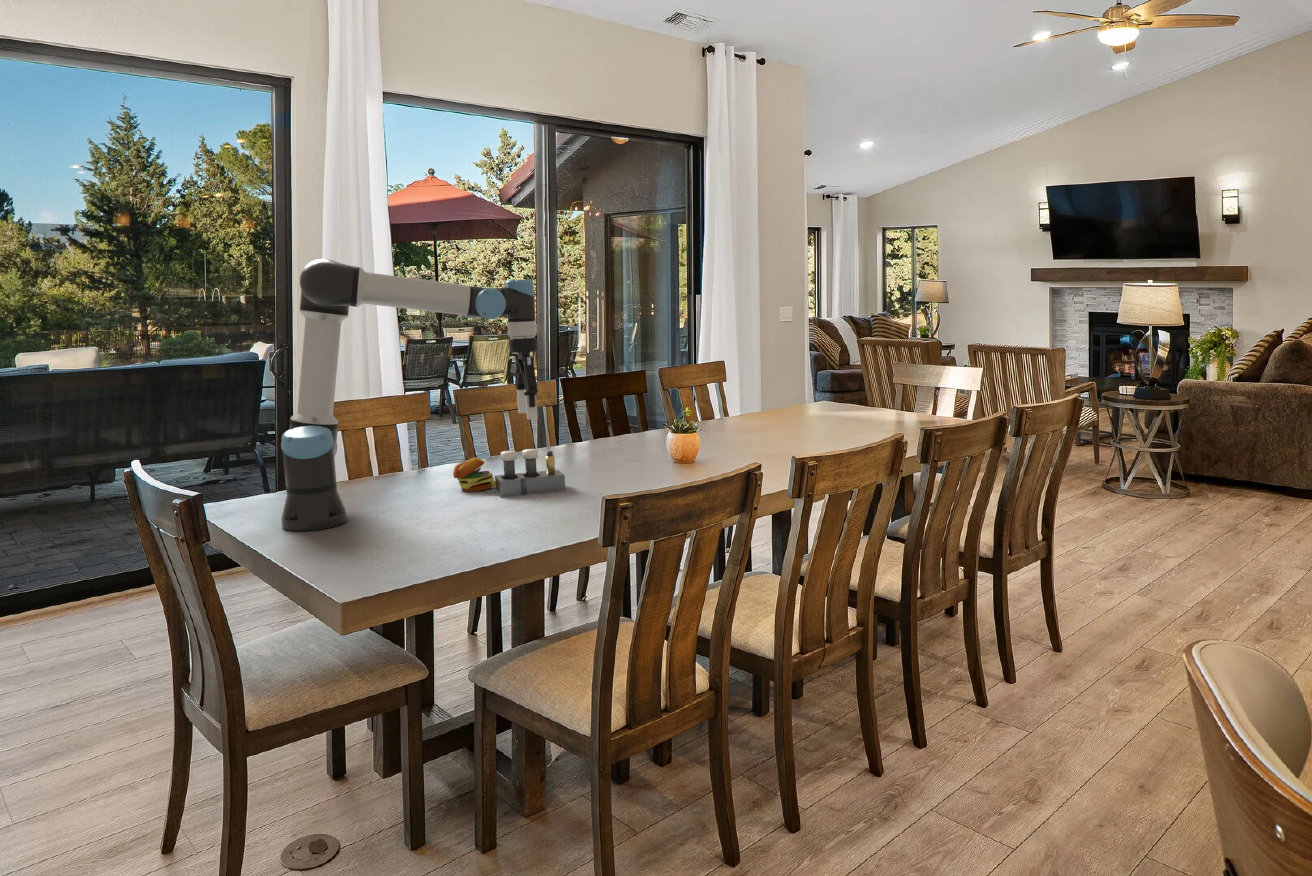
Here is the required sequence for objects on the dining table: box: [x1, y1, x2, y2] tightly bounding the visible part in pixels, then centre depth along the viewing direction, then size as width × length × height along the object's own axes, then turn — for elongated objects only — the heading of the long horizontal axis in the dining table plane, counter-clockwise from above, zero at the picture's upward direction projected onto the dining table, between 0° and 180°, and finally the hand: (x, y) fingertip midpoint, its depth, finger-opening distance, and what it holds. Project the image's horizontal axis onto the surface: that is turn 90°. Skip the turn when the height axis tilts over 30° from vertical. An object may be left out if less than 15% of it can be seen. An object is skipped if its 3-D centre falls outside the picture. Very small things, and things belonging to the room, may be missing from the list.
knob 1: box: [500, 450, 517, 478], centre depth 252 cm, size 4×4×7 cm
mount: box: [494, 469, 566, 498], centre depth 255 cm, size 18×8×4 cm, turn 108°
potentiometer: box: [545, 450, 556, 474], centre depth 256 cm, size 2×2×6 cm
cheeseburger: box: [452, 457, 496, 493], centre depth 260 cm, size 10×11×10 cm
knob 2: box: [522, 448, 539, 476], centre depth 254 cm, size 4×4×7 cm
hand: (527, 416), depth 252 cm, fingers open, 12 cm apart
